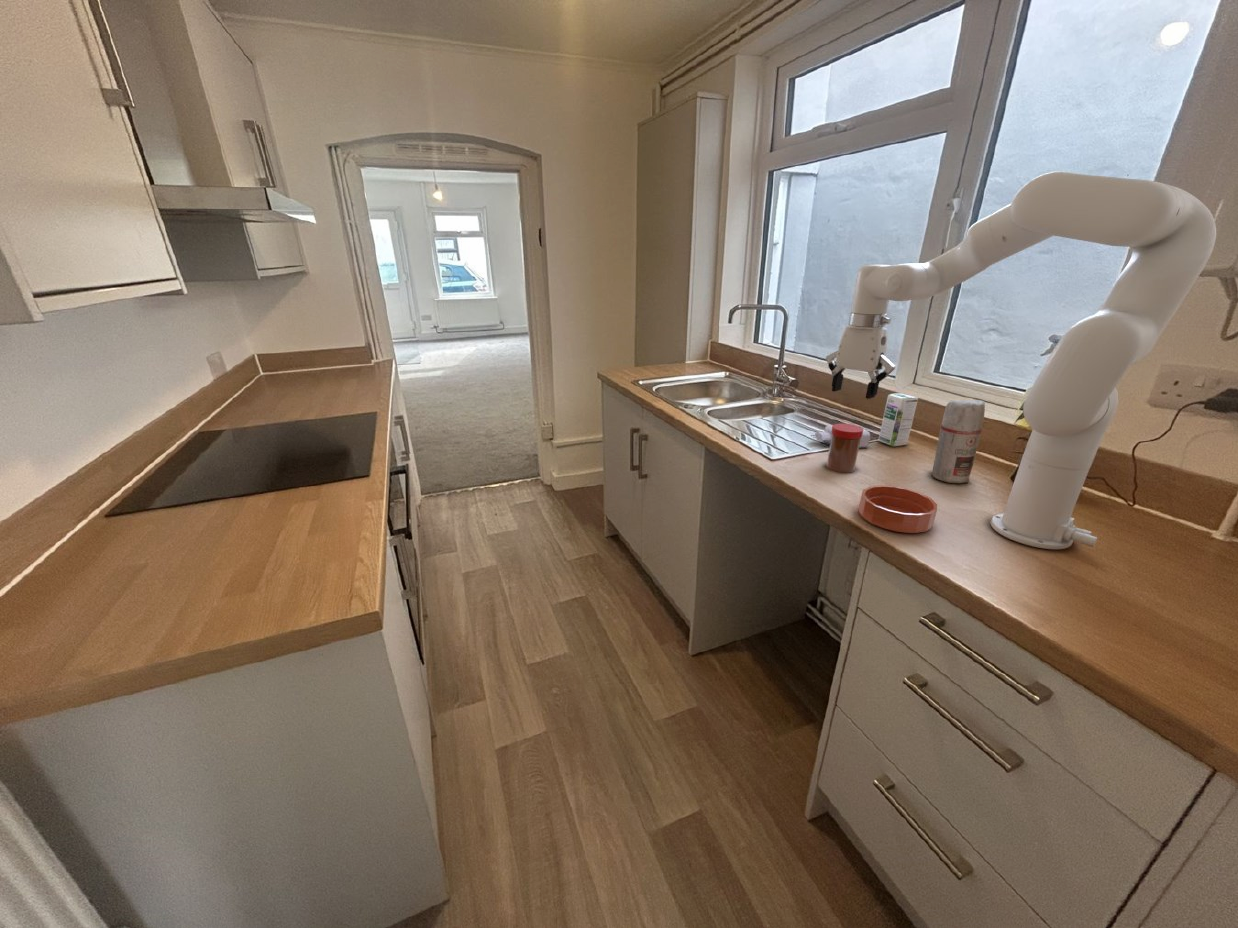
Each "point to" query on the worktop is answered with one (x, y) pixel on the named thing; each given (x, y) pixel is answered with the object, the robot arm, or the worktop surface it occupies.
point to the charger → (827, 436)
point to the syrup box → (897, 419)
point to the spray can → (958, 440)
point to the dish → (897, 509)
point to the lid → (847, 431)
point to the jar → (843, 454)
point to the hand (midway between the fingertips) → (852, 393)
